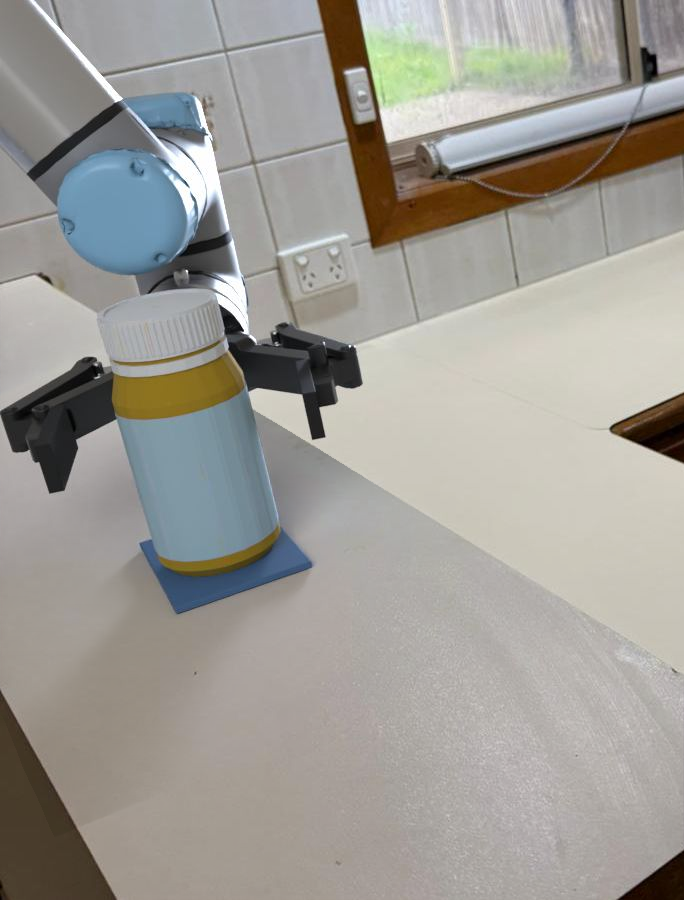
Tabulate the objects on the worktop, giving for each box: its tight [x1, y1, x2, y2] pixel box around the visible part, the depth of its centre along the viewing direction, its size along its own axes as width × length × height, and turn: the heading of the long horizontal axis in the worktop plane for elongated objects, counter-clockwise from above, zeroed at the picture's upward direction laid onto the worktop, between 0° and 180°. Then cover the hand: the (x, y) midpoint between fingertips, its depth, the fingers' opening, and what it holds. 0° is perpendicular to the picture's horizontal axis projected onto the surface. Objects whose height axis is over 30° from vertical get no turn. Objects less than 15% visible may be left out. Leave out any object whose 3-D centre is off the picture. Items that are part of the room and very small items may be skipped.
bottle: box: [96, 288, 281, 577], centre depth 64 cm, size 7×7×15 cm
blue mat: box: [139, 525, 313, 615], centre depth 67 cm, size 10×8×1 cm
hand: (185, 442), depth 61 cm, fingers open, 13 cm apart
